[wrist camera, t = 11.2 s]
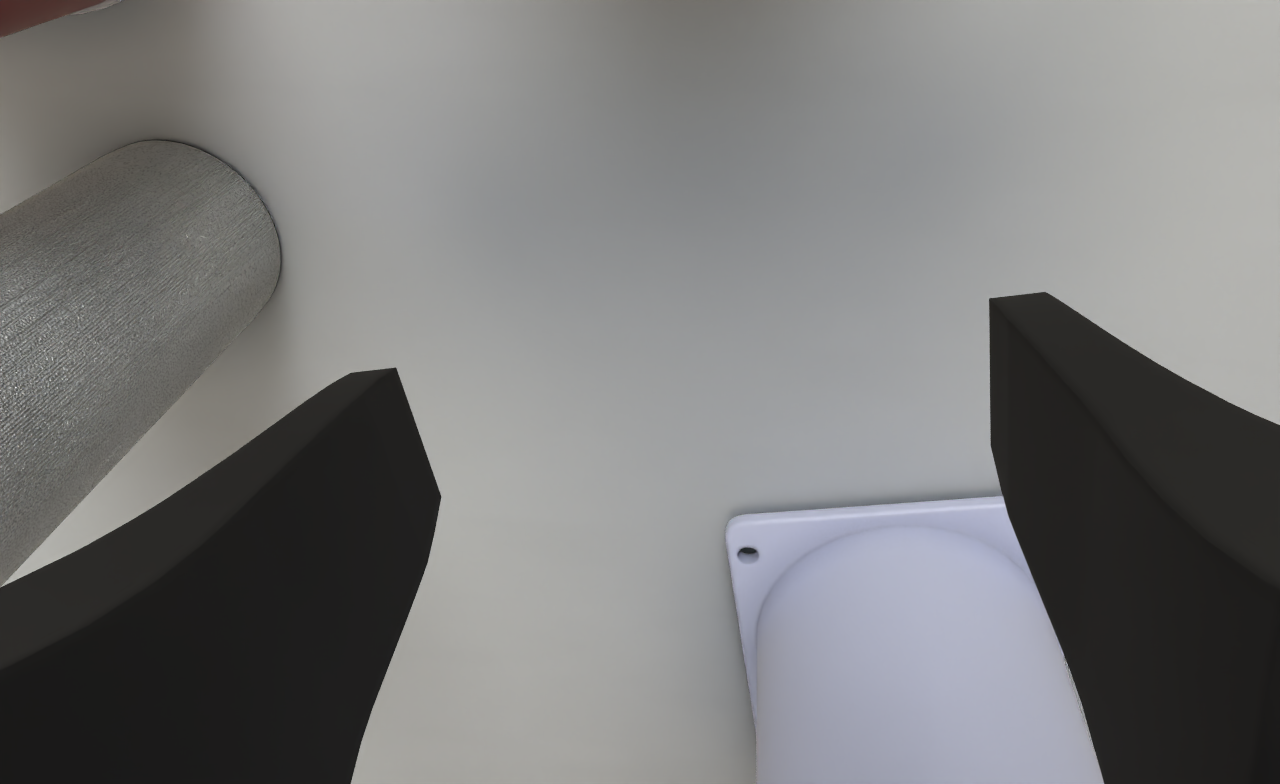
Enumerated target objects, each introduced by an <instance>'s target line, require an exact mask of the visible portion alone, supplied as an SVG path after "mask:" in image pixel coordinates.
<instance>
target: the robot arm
mask: <svg viewBox="0 0 1280 784" xmlns="http://www.w3.org/2000/svg"><path fill="white" fill-rule="evenodd" d="M989 316H990V417H991V448H992V453H993V457H994V461H995V465H996V469H997V474H998V478H999V482H1000V486H1001V490H1002V494H1003V496H992V497H979V498H965V499H951V500H937V501H923V502H909V503H895V504H881V505H867V506H853V507H840V508H826V509H812V510H798V511H784V512H770V513H756V514H743V515H739V516H735V517H734V518H732V519H731V520H730V521H729V522H728V524H727V525H726V535H725V541H726V548H727V554H728V560H729V567H730V573H731V579H732V586H733V592H734V598H735V605H736V611H737V617H738V623H739V630H740V636H741V642H742V649H743V655H744V661H745V668H746V674H747V680H748V687H749V693H750V699H751V706H752V712H753V718H754V725H755V731H756V784H1280V425H1278V424H1275V423H1273V422H1271V421H1268V420H1266V419H1264V418H1261V417H1259V416H1257V415H1254V414H1252V413H1250V412H1248V411H1246V410H1244V409H1242V408H1240V407H1237V406H1235V405H1233V404H1231V403H1229V402H1227V401H1225V400H1223V399H1221V398H1219V397H1218V396H1216V395H1214V394H1212V393H1210V392H1208V391H1206V390H1204V389H1202V388H1201V387H1199V386H1197V385H1195V384H1193V383H1191V382H1189V381H1187V380H1185V379H1183V378H1182V377H1180V376H1178V375H1177V374H1175V373H1173V372H1171V371H1170V370H1168V369H1166V368H1164V367H1163V366H1161V365H1159V364H1157V363H1156V362H1154V361H1152V360H1151V359H1149V358H1147V357H1146V356H1144V355H1143V354H1141V353H1139V352H1138V351H1136V350H1135V349H1133V348H1131V347H1130V346H1128V345H1127V344H1125V343H1123V342H1122V341H1120V340H1119V339H1117V338H1116V337H1114V336H1113V335H1111V334H1109V333H1108V332H1106V331H1105V330H1103V329H1102V328H1100V327H1099V326H1097V325H1096V324H1094V323H1093V322H1091V321H1090V320H1088V319H1087V318H1085V317H1084V316H1082V315H1081V314H1079V313H1078V312H1076V311H1075V310H1073V309H1072V308H1070V307H1069V306H1067V305H1066V304H1064V303H1063V302H1061V301H1060V300H1058V299H1056V298H1055V297H1053V296H1051V295H1050V294H1048V293H1046V292H1041V293H1033V294H1024V295H1016V296H1007V297H998V298H990V299H989ZM440 501H441V495H440V492H439V489H438V486H437V483H436V480H435V477H434V475H433V472H432V469H431V466H430V463H429V460H428V457H427V455H426V452H425V449H424V446H423V443H422V440H421V437H420V435H419V432H418V429H417V426H416V423H415V420H414V417H413V415H412V412H411V409H410V406H409V403H408V400H407V397H406V395H405V392H404V389H403V386H402V383H401V380H400V377H399V375H398V372H397V369H396V368H389V369H380V370H372V371H363V372H355V373H350V374H348V375H346V376H344V377H343V378H341V379H339V380H337V381H335V382H334V383H332V384H331V385H329V386H327V387H326V388H324V389H323V390H321V391H320V392H318V393H317V394H315V395H314V396H313V397H311V398H310V399H308V400H307V401H305V402H304V403H303V404H301V405H300V406H298V407H297V408H296V409H294V410H293V411H291V412H290V413H289V414H287V415H286V416H285V417H283V418H282V419H280V420H279V421H278V422H276V423H275V424H274V425H272V426H271V427H269V428H268V429H267V430H265V431H264V432H262V433H261V434H260V435H258V436H257V437H256V438H254V439H253V440H251V441H250V442H249V443H247V444H246V445H245V446H243V447H242V448H240V449H239V450H238V451H236V452H235V453H233V454H232V455H231V456H229V457H228V458H226V459H225V460H223V461H222V462H220V463H219V464H217V465H216V466H214V467H213V468H211V469H210V470H208V471H207V472H206V473H204V474H203V475H201V476H200V477H198V478H197V479H195V480H194V481H192V482H191V483H189V484H188V485H186V486H185V487H183V488H182V489H180V490H179V491H177V492H176V493H174V494H173V495H171V496H170V497H168V498H167V499H165V500H164V501H162V502H161V503H159V504H157V505H156V506H154V507H153V508H151V509H149V510H148V511H146V512H144V513H143V514H141V515H139V516H138V517H136V518H134V519H133V520H131V521H129V522H128V523H126V524H124V525H122V526H121V527H119V528H117V529H115V530H113V531H112V532H110V533H108V534H106V535H105V536H103V537H101V538H99V539H97V540H96V541H94V542H92V543H90V544H88V545H87V546H85V547H83V548H81V549H79V550H77V551H75V552H73V553H71V554H69V555H67V556H65V557H63V558H61V559H59V560H57V561H55V562H53V563H51V564H49V565H46V566H44V567H42V568H40V569H38V570H36V571H34V572H32V573H30V574H28V575H26V576H24V577H22V578H19V579H17V580H15V581H13V582H11V583H9V584H7V585H5V586H3V587H1V588H0V784H351V780H352V776H353V772H354V768H355V764H356V760H357V757H358V753H359V749H360V745H361V741H362V738H363V735H364V732H365V729H366V726H367V723H368V720H369V717H370V714H371V711H372V708H373V705H374V703H375V700H376V698H377V695H378V692H379V690H380V687H381V685H382V682H383V679H384V677H385V674H386V672H387V669H388V667H389V664H390V661H391V659H392V656H393V654H394V651H395V648H396V646H397V643H398V641H399V638H400V635H401V633H402V630H403V628H404V625H405V622H406V620H407V617H408V615H409V612H410V609H411V607H412V604H413V601H414V599H415V596H416V593H417V590H418V588H419V585H420V582H421V580H422V577H423V574H424V571H425V568H426V566H427V563H428V558H429V554H430V550H431V545H432V541H433V537H434V532H435V527H436V522H437V516H438V511H439V506H440ZM746 547H749V548H753V549H755V550H756V552H755V553H752V554H746V553H743V552H741V551H740V550H741V549H742V548H746ZM1064 656H1065V658H1066V661H1067V663H1068V666H1069V668H1070V671H1071V674H1072V677H1073V680H1074V682H1075V685H1076V688H1077V691H1078V694H1079V697H1080V700H1081V702H1082V706H1083V709H1084V713H1085V717H1086V720H1087V724H1088V727H1089V731H1090V734H1091V738H1092V742H1093V745H1094V748H1093V746H1092V743H1091V740H1090V737H1089V734H1088V731H1087V728H1086V725H1085V722H1084V719H1083V716H1082V713H1081V710H1080V707H1079V704H1078V701H1077V698H1076V695H1075V692H1074V689H1073V686H1072V683H1071V680H1070V678H1069V675H1068V672H1067V669H1066V666H1065V663H1064ZM1094 749H1095V751H1094ZM1095 752H1096V754H1095ZM1096 756H1097V757H1096Z"/></svg>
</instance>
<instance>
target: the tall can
mask: <svg viewBox="0 0 1280 784" xmlns="http://www.w3.org/2000/svg"><path fill="white" fill-rule="evenodd" d="M121 1H123V0H0V38H1V37H4V36H7V35H10V34H13V33H16V32H19V31H22V30H25V29H28V28H30V27H33V26H36V25H39V24H42V23H45V22H48V21H51V20H54V19H57V18H60V17H63V16H65V15H75V14H84V13H88V12H92V11H96V10H100V9H103V8H106V7H109V6H112V5H114V4H117V3H119V2H121Z"/></svg>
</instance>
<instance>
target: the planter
mask: <svg viewBox="0 0 1280 784" xmlns="http://www.w3.org/2000/svg"><path fill="white" fill-rule="evenodd" d="M279 272H280V246H279V240H278V237H277V233H276V230H275V227H274V224H273V222H272V219H271V217H270V215H269V213H268V211H267V209H266V208H265V206H264V204H263V203H262V201H261V200H260V198H259V197H258V196H257V194H256V193H255V192H254V190H253V189H252V188H251V187H250V186H249V184H248V183H247V182H246V181H245V180H244V179H243V178H242V177H241V176H239V175H238V174H237V173H236V172H235V171H234V170H232V169H231V168H230V167H229V166H227V165H226V164H225V163H223V162H222V161H220V160H218V159H217V158H215V157H213V156H212V155H210V154H208V153H206V152H203V151H201V150H199V149H197V148H194V147H191V146H188V145H185V144H181V143H176V142H170V141H159V140H153V141H142V142H137V143H133V144H129V145H127V146H124V147H122V148H120V149H117V150H115V151H113V152H111V153H108V154H106V155H104V156H102V157H101V158H99V159H97V160H95V161H93V162H92V163H90V164H88V165H87V166H85V167H83V168H81V169H80V170H78V171H76V172H74V173H73V174H71V175H69V176H67V177H66V178H64V179H62V180H60V181H59V182H57V183H55V184H53V185H52V186H50V187H48V188H46V189H45V190H43V191H41V192H39V193H38V194H36V195H34V196H32V197H31V198H29V199H27V200H25V201H24V202H22V203H20V204H18V205H17V206H15V207H13V208H11V209H10V210H8V211H6V212H4V213H3V214H1V215H0V587H1V586H2V585H3V584H4V583H5V582H6V581H7V580H8V579H9V577H10V576H11V575H12V574H13V573H14V572H15V571H16V570H17V569H18V568H19V567H20V566H21V565H22V564H23V563H24V562H25V561H26V560H27V558H28V557H29V556H30V555H31V554H32V553H33V552H34V551H35V550H36V549H37V548H38V547H39V546H40V545H41V544H42V543H43V542H44V540H45V539H46V538H47V537H48V536H49V535H50V534H51V533H52V532H53V531H54V530H55V529H56V528H57V527H58V526H59V525H60V523H61V522H62V521H63V520H64V519H65V518H66V517H67V516H68V515H69V514H70V513H71V512H72V511H73V510H74V509H75V508H76V507H77V505H78V504H79V503H80V502H81V501H82V500H83V499H84V498H85V497H86V496H87V495H88V494H89V493H90V492H91V491H92V490H93V489H94V487H95V486H96V485H97V484H98V483H99V482H100V481H101V480H102V479H103V478H104V477H105V476H106V475H107V474H108V473H109V472H110V471H111V469H112V468H113V467H114V466H115V465H116V464H117V463H118V462H119V461H120V460H121V459H122V458H123V457H124V456H125V455H126V454H127V452H128V451H129V450H130V449H131V448H132V447H133V446H134V445H135V444H136V443H137V442H138V441H139V440H140V439H141V438H142V437H143V436H144V434H145V433H146V432H147V431H148V430H149V429H150V428H151V427H152V426H153V425H154V424H155V423H156V422H157V421H158V420H159V419H160V418H161V416H162V415H163V414H164V413H165V412H166V411H167V410H168V409H169V408H170V407H171V406H172V405H173V404H174V403H175V402H176V401H177V400H178V398H179V397H180V396H181V395H182V394H183V393H184V392H185V391H186V390H187V389H188V388H189V387H190V386H191V385H192V384H193V383H194V381H195V380H196V379H197V378H198V377H199V376H200V375H201V374H202V373H203V372H204V371H205V370H206V369H207V368H208V367H209V366H210V365H211V363H212V362H213V361H214V360H215V359H216V358H217V357H218V356H219V355H220V354H221V353H222V352H223V351H224V350H225V349H226V348H227V347H228V345H229V344H230V343H231V342H232V341H233V340H234V339H235V338H236V337H237V336H238V335H239V334H240V333H241V332H242V331H243V330H244V329H245V327H246V326H247V325H248V324H249V323H250V322H251V321H252V320H253V319H254V318H255V317H256V316H257V314H258V313H259V312H260V310H261V309H262V308H263V307H264V305H265V304H266V303H267V301H268V300H269V298H270V297H271V295H272V293H273V291H274V289H275V287H276V284H277V281H278V277H279Z"/></svg>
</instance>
